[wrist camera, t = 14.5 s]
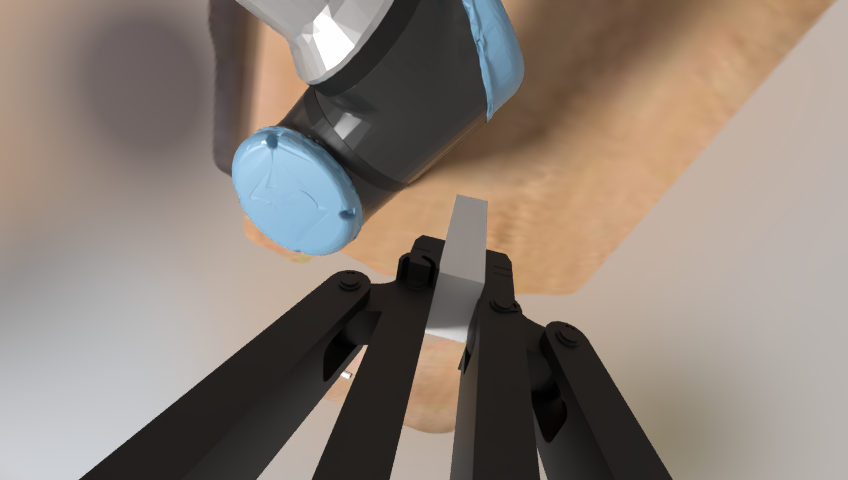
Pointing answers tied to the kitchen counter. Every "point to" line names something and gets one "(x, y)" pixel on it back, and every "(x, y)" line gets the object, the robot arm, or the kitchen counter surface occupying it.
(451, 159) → the kitchen counter surface
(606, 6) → the kitchen counter surface
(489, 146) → the kitchen counter surface
